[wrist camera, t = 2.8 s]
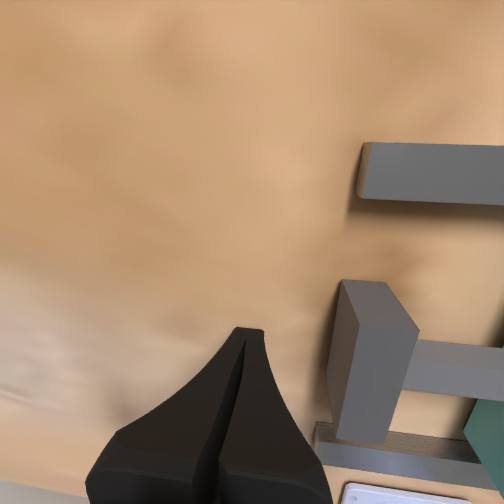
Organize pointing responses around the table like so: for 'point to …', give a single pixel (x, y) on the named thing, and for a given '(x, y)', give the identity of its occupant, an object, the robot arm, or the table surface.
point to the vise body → (428, 190)
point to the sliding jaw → (407, 373)
